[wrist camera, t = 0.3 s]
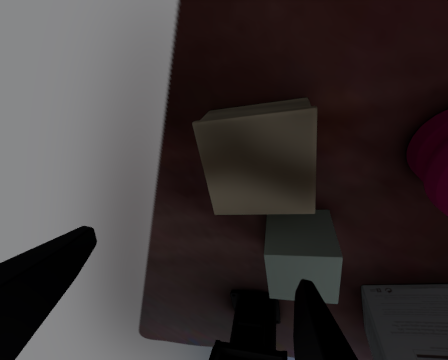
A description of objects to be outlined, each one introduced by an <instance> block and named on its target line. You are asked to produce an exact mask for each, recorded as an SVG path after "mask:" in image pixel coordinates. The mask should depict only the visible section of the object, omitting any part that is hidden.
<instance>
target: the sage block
mask: <svg viewBox="0 0 448 360" xmlns="http://www.w3.org/2000/svg"><path fill="white" fill-rule="evenodd" d="M264 258H265V266H266V274H267V281H268V289H269V297H270V299H283V300H295V292H296V289H297V287H298V285H299V282H300V280H301V279H306V280H310V281H312V282H313V283H314V285H315V286H316V288H317V290H318V292H319V293H320V295H321V297H322V298H323V300H324V302H325V303H331V304H338V298H339V288H340V279H341V269H342V260H343V257H342V253H341V250H340V246H339V243H338V239H337V236H336V232H335V229H334V225H333V222H332V219H331V215H330V212H329V210H315V214H267V220H266V234H265V248H264Z"/></svg>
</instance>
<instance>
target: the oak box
mask: <svg viewBox="0 0 448 360" xmlns="http://www.w3.org/2000/svg"><path fill="white" fill-rule="evenodd" d="M192 125H193V129H194V133H195V138H196V142H197V146H198V150H199V154H200V158H201V162H202V166H203V170H204V174H205V178H206V182H207V186H208V190H209V194H210V198H211V202H212V206H213V210H214V214H215V215H249V214H315V195H316V143H317V106H311V104H310V102H309V100H308V98H300V99H293V100H285V101H278V102H270V103H263V104H256V105H248V106H241V107H233V108H226V109H219V110H211V111H209V112H208V113H207V114H206V115H205V116H204V117H203V118H202V119H201V120H198V121H194V122H193V123H192Z"/></svg>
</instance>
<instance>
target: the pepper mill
mask: <svg viewBox="0 0 448 360" xmlns="http://www.w3.org/2000/svg"><path fill="white" fill-rule="evenodd" d="M407 163H408V165H409V167H410V169H411V170H412V171H413V172H414V173H415V174H416V175H417V176H418V177H419V178H420V179H421V180H422V181H423V182H424V188H425V192H426V194H427V196H428V198H429V199H430V201H431V202H432V203H433V204H434V205H435V206H436V207H437V208H438V209H439V210H441V211H442V212H443V213H444V214H445V215H447V216H448V110H446V111H443V112H441V113H439V114H437V115H435V116H434V117H433V118H431V119H430V120H428V121H427V122H426V123H424V124H423V125H422V126H421V127H420V128H419V129H418V131H417V132H416V133H415V134H414V135H413V137H412V139H411V141H410V143H409V145H408V148H407Z"/></svg>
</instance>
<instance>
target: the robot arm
mask: <svg viewBox="0 0 448 360" xmlns="http://www.w3.org/2000/svg"><path fill="white" fill-rule="evenodd" d="M96 243H97V240H96V236H95V232H94V229H93V228H92V227H87V226H82V227H79V228H77V229H75V230H73V231H70V232H68V233H66V234H64V235H62V236H59V237H57V238H55V239H53V240H51V241H48V242H46V243H44V244H42V245H39V246H37V247H35V248H33V249H30V250H28V251H26V252H24V253H22V254H19V255H17V256H15V257H13V258H10V259H8V260H6V261H4V262H2V263H0V360H15V359H16V357H17V356H18V355H19V353H20V352H21V351H22V349H23V348H24V347H25V345H26V344H27V342H28V341H29V340H30V339H31V337H32V336H33V335H34V333H35V332H36V331H37V329H38V328H39V327H40V325H41V324H42V323H43V321H44V320H45V319H46V317H47V316H48V315H49V313H50V312H51V311H52V309H53V308H54V307H55V305H56V304H57V303H58V301H59V300H60V299H61V297H62V296H63V294H64V293H65V292H66V290H67V289H68V288H69V287H70V285H71V284H72V282H73V281H74V279H75V278H76V277H77V275H78V274H79V272H80V271H81V269H82V267H83V266H84V264H85V262H86V261H87V259H88V257H89V256H90V254H91V252H92V251H93V249H94V248H95V246H96ZM230 296H231V300H232V303H233V307H234V311H235V313H234V319H233V325H232V332H231V338H230V343H228V342H221V341H220V340H216V342H215V345H214V346H213V349H212V351H211V355H210V358H209V360H287V351H277V350H276V324H279V323H280V310H279V301H278V299H270V297H269V293H260V292H247V291H234V290H233V291H231V293H230ZM293 339H294V355H295V360H358V359H357V357H356V355H355V354H354V352H353V350H352V348H351V347H350V345H349V343H348V342H347V340H346V338H345V336H344V335H343V333H342V331H341V329H340V328H339V326H338V324H337V323H336V321H335V319H334V317H333V316H332V314H331V312H330V311H329V309H328V307H327V305H326V304H325V302H324V300H323V298H322V297H321V295H320V293H319V292H318V290H317V288H316V286H315V285H314V283H313V282H312V281H310V280H306V279H301V280H300V282H299V285H298V287H297V289H296V292H295V303H294V333H293Z"/></svg>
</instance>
